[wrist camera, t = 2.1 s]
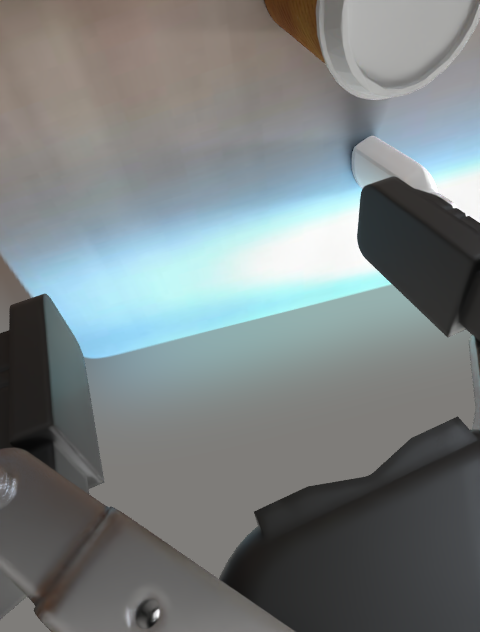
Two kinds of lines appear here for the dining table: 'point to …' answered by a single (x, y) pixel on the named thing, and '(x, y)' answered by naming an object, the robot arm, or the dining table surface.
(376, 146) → the eye dropper bottle
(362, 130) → the dining table surface
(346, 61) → the disposable coffee cup
